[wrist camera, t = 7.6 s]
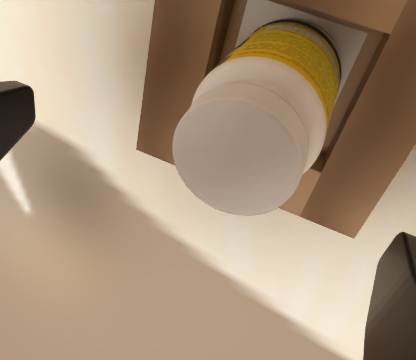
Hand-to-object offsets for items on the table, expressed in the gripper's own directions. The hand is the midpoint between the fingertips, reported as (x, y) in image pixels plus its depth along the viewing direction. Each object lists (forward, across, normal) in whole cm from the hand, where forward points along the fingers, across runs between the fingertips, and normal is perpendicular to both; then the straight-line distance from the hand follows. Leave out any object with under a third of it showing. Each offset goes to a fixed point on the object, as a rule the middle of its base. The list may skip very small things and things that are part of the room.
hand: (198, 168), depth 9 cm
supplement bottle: (+11, 0, +1) cm, 11 cm away
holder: (+12, 0, +1) cm, 12 cm away
